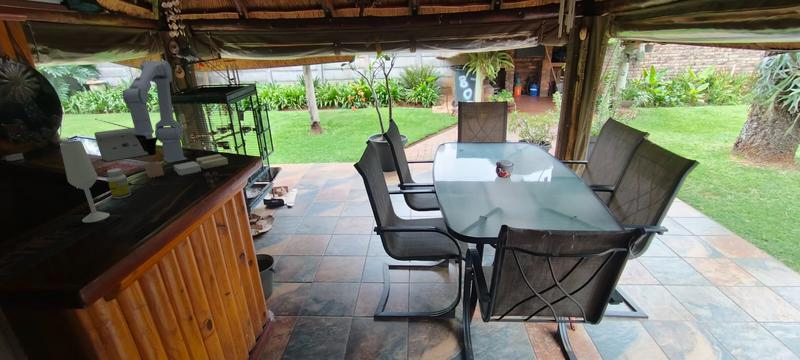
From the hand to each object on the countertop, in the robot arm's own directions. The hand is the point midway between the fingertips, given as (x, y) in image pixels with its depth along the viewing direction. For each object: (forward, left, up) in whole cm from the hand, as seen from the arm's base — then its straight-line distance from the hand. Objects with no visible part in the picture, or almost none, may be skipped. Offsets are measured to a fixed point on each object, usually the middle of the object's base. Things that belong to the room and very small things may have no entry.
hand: (150, 153), depth 143 cm
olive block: (+1, +22, -10) cm, 24 cm away
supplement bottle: (+17, -14, -10) cm, 24 cm away
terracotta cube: (0, 0, -10) cm, 10 cm away
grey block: (+4, +11, -10) cm, 15 cm away
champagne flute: (+32, -23, -10) cm, 41 cm away
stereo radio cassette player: (-39, -2, -10) cm, 40 cm away
